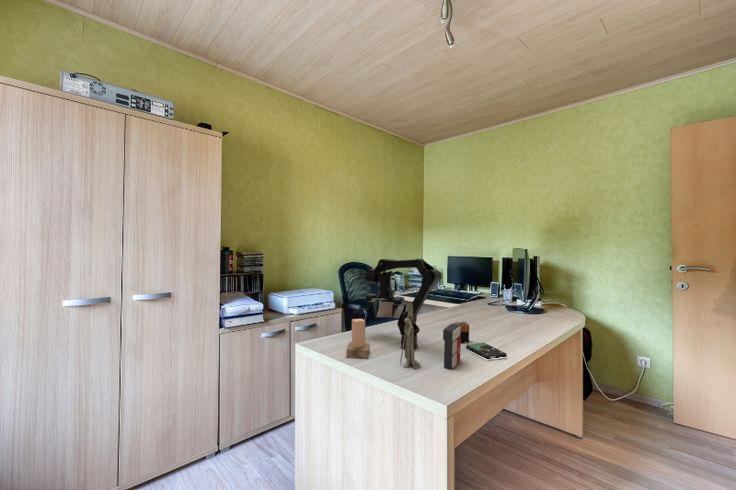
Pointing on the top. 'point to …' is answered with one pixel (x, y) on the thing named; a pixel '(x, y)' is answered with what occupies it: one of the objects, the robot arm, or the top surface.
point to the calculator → (451, 345)
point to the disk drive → (486, 350)
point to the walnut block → (358, 351)
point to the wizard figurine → (409, 340)
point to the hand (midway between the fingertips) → (384, 316)
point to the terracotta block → (358, 333)
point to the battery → (464, 331)
